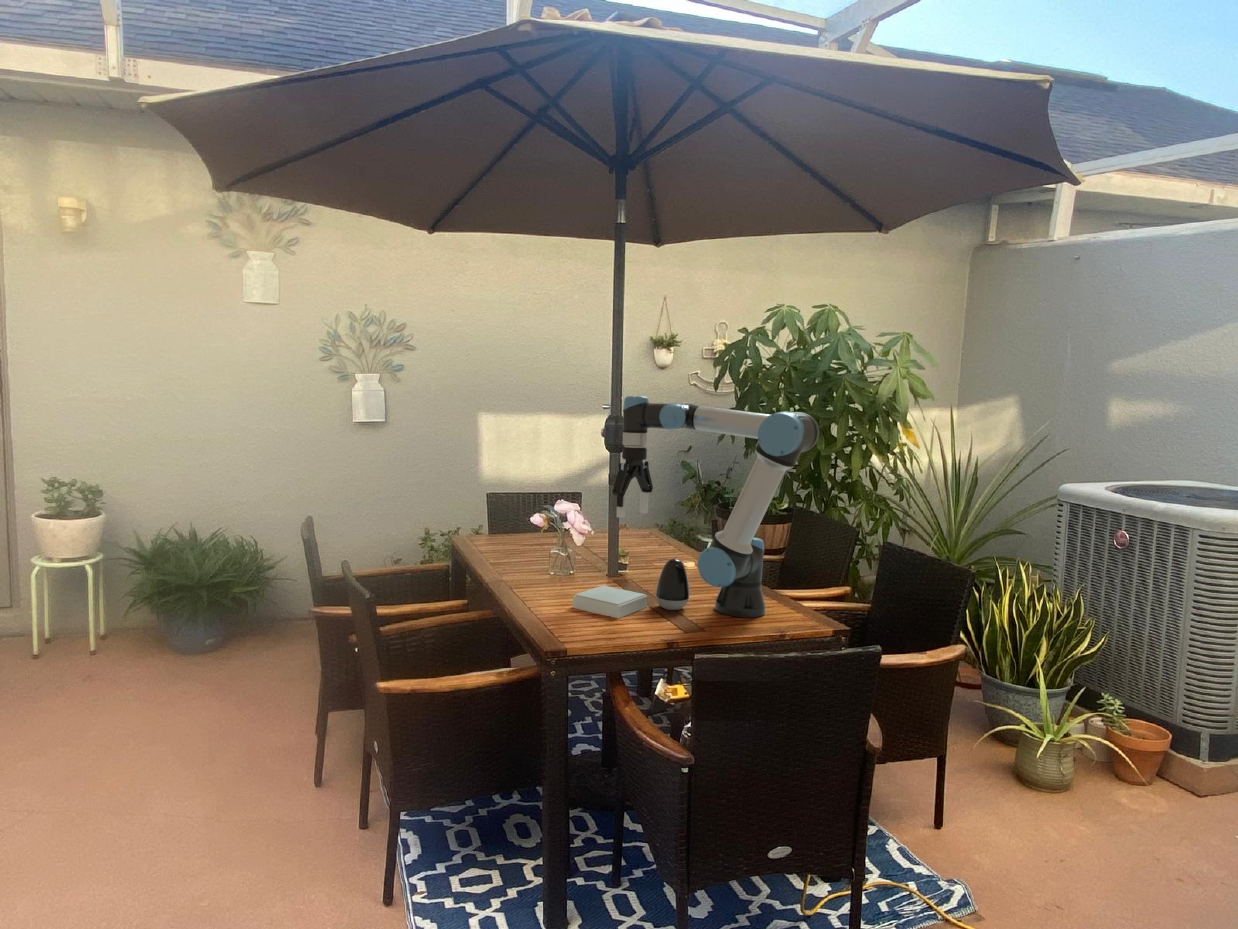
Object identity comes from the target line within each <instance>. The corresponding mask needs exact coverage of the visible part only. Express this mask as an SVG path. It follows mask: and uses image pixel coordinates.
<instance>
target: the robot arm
mask: <svg viewBox="0 0 1238 929" xmlns="http://www.w3.org/2000/svg"><path fill="white" fill-rule="evenodd" d="M622 412H623V416H622V417H623V420H622V421H623V424H622V428H623V429H622V445H623V447H622V450H621V451H622V452H621V457H622V459H623V460H625V462H620V463H619V464H618V471H617V476H616V478H615V482H614V485H613V488H612V494H613V496H615V497H616V518H621V519H626V515H627V514H626V508H627V507H626V506H627V496H626V493H627V490H628V488H629V486H630V483H631V481H632V480H633V479H634V478H635V479H636V481H637V483H638V485H639V488H640V492H639V510H638V511H639V513H641V514H648V513H649V494H650V493H653V489H654V486H653V482H652V477H651V474H650V468H649V467H650V466H649V461H647V456H648V455H647V454H648V448H647V447H646V446H648V429H660V430H661V429H664V430H679V429H686V430H687V429H689V430H692V431H693V430H695V431H702V432H703V431H704V432H709V433H715V434H716V433H717V434H723V435H729V436H737V437H743V438H750V439H756V440H758V442H757V444H756V446H755V449H754V450H755V454H756V455H757V457H756V460H755V461H754V464H753V465H752V468H751V470H750V473H749V474H748V477H747V478H746V481H745V483H744V485H743V486H742V490H741V492H740V494H739V496H738V497H737V500H736V501H735V504H734V507H733V508H732V510H731V512H730V515H729V517H728V519H727V522H726V523H725V526H724V528H723V529H722V530H721V531H717V532H716V533H715V535H714V536H713V539H712V541H711V543H710V544H709V546H708V547H707V548H704V549H703V550H702V551H701V552H700V554H699V556H698V558H697V570H698V572H699V575H700V577H701V578H702V580H703V581H704V582H705V583H706V584H708V585H710V586H712V587H714V588H720V589H719V592H718V594H717V595H716V599H715V603H714V610H716V612H718V613H721V614H723V615H726V616H731V617H738V618H757V617H762V616H764V615H765V613H766V602H765V599H764V596H763V590H762V579H763V578H762V577H763V569H764V568H763V567H764V557H765V556H764V554H765V543H764V540H763V539H761V538H758V537H755V535H756V533H757V531H758V529H759V527H760V524H761V523H762V521H763V518H764V517H765V515H766V513H767V510H768V508H769V506H770V505H771V502H772V501H773V498H774V496H775V494H776V492H777V490H778V488H779V486H780V484H781V481H782V480H783V477H784V475H785V474H786V471H787V470H790V469H793V468H795V465H796V464H797V461H798V459H799V457H800V455H801V453H805V452H808V451H809V450H811V449H813V448H814V446H815V445H816V444H817V442H818V440H819V436H820V429H819V425H818V423H817V421H816V420H815V419H814V417H813V416H811V415H810V414H807V413H805V412H801V411H786V410H785V411H778V412H775V413H771V414H768V413H767V414H766V413H760V412H753V411H744V410H736V409H729V408H720V407H719V408H718V407H712V406H705V405H695V404H693V403H670V402H669V403H652V402H649V398H648V396H635V395H634V396H633V395H627V396H625V397H624V400H623V409H622ZM644 460H645V461H644Z"/></svg>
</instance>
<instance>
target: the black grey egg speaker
mask: <svg viewBox="0 0 1238 929" xmlns="http://www.w3.org/2000/svg"><path fill="white" fill-rule="evenodd" d="M690 594H691V593H690V584H689V579H688V574H687V570H686V567H685V564H684V563H683V561H682V560H680V559H678V558H670V559H668V560H667V561H666V563H665V564H664V565H663V568H662V569H661V571H660V575H659V578H658V582H657V585H656V590H655V596H656V601H657V603H658V604H659V606H660V607H662V608H663V609H664V610H669V611H678V610H681V609H683V608H684V607H685V606H686V605H687V604H688V601H689V599H690V596H691V595H690Z"/></svg>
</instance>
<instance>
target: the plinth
mask: <svg viewBox="0 0 1238 929" xmlns="http://www.w3.org/2000/svg"><path fill="white" fill-rule="evenodd" d="M647 604H648V595H647V594H645V593H641V592H636V591H631V590H627V589H621V588H618V587H613V586H607V585H600V586H598V587H594V588H591V589H589V590H585V591H582V592H578V593H575V594H574V595H573V596H572V609H576V610H580V611H584V612H589V613H593V614H596V615H602V616H607V617H609V616H610V618H615V619H620V618H623V617H626V616H628V615H631V614H634V613H635V612H638V611H641V610H644V609H646V608H647V607H648V606H647Z"/></svg>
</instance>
